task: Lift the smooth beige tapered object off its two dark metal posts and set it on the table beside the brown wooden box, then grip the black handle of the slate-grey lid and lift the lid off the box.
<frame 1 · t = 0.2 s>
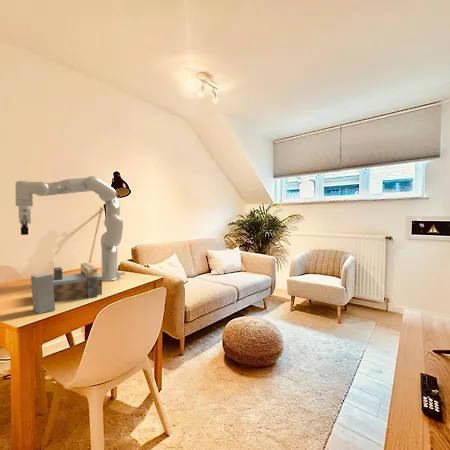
hand: (24, 234, 145), 31 cm above the table, tool pointing down, fingers open, 9 cm apart
skincare box: (43, 310, 113), on the table
brown wooden box: (71, 294, 136), on the table
smooth beige tapered object: (88, 273, 141), point 10 cm above the table, touching brown wooden box
lid: (71, 279, 136), point 8 cm above the table, touching brown wooden box
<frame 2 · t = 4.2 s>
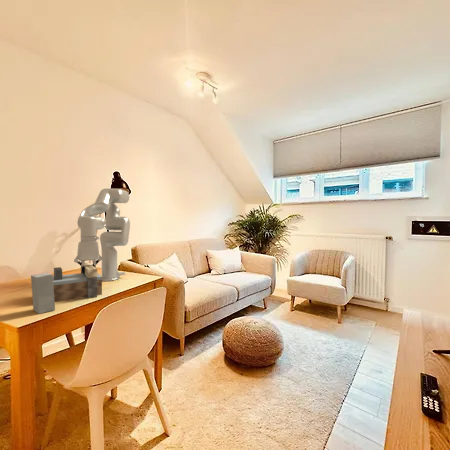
hand: (88, 272, 141), 11 cm above the table, tool pointing down, fingers closed on smooth beige tapered object, 4 cm apart
smooth beige tapered object: (88, 273, 141), point 11 cm above the table, touching gripper, brown wooden box
everything else where it was.
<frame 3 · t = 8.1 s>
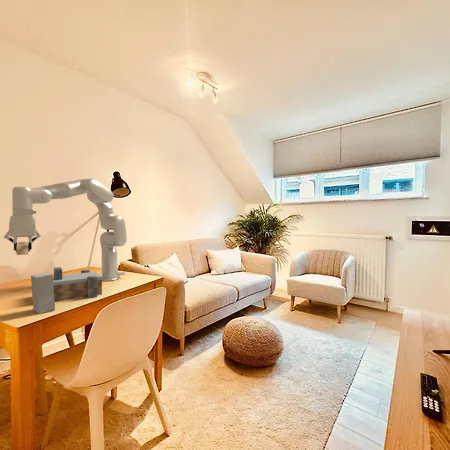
hand: (22, 251, 124), 24 cm above the table, tool pointing down, fingers closed on smooth beige tapered object, 4 cm apart
smooth beige tapered object: (22, 251, 124), point 24 cm above the table, touching gripper
everything else where it was.
when the fingers open (2 cm above the table, at t = 12.3 s): smooth beige tapered object drops 2 cm, on the table.
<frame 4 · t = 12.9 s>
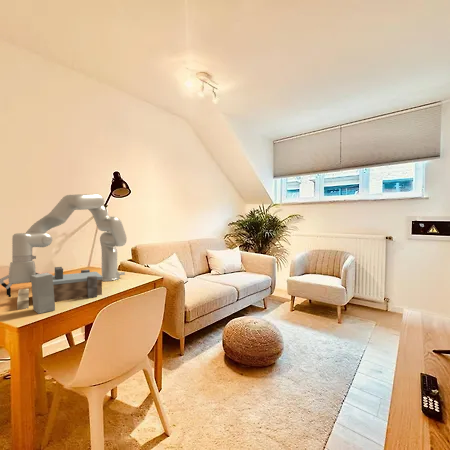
hand: (22, 294, 124), 3 cm above the table, tool pointing down, fingers open, 9 cm apart
smooth beige tapered object: (23, 302, 124), on the table
lid: (72, 279, 136), point 8 cm above the table, touching gripper, brown wooden box
everything else where it was.
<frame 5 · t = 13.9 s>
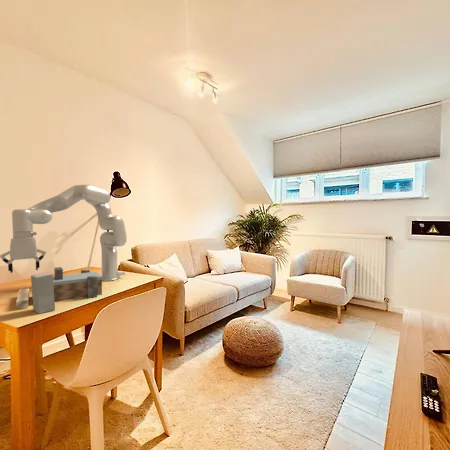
hand: (24, 270, 124), 15 cm above the table, tool pointing down, fingers open, 9 cm apart
lid: (72, 279, 136), point 8 cm above the table, touching brown wooden box
everything else where it was.
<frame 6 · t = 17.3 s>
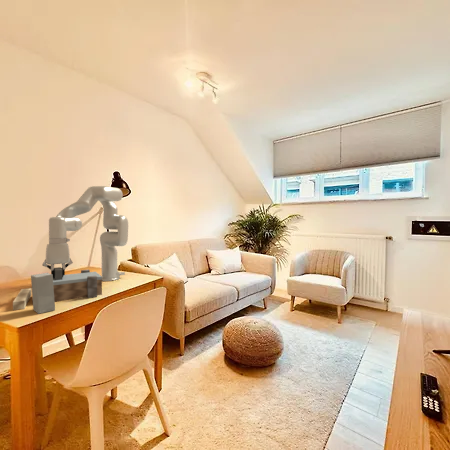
hand: (58, 277, 132), 10 cm above the table, tool pointing down, fingers closed on lid, 3 cm apart
lid: (71, 279, 136), point 8 cm above the table, touching gripper, brown wooden box
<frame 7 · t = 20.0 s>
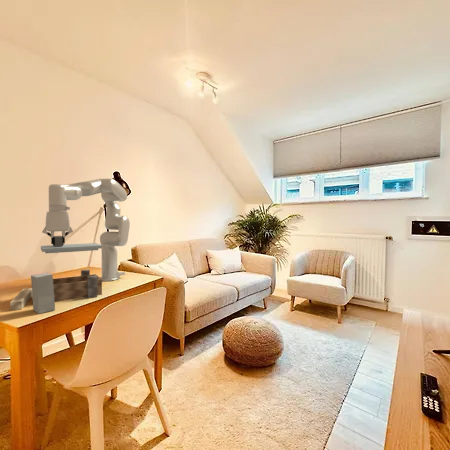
hand: (58, 244, 132), 27 cm above the table, tool pointing down, fingers closed on lid, 3 cm apart
lid: (71, 248, 136), point 24 cm above the table, touching gripper
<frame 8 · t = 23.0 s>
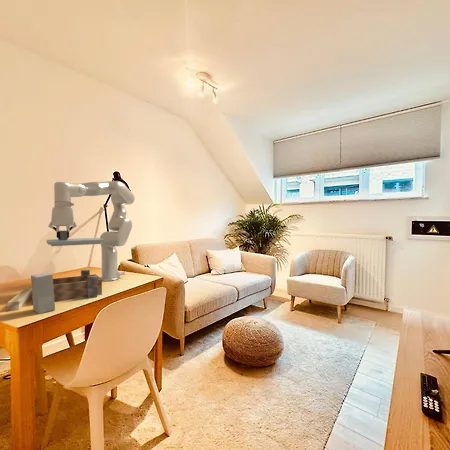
hand: (62, 238, 141), 29 cm above the table, tool pointing down, fingers closed on lid, 3 cm apart
lid: (75, 242, 145), point 27 cm above the table, touching gripper
at the end: smooth beige tapered object inside the target area (0.4 cm from its centre), on the table; lid point 26.9 cm above the table; the gripper is holding lid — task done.
